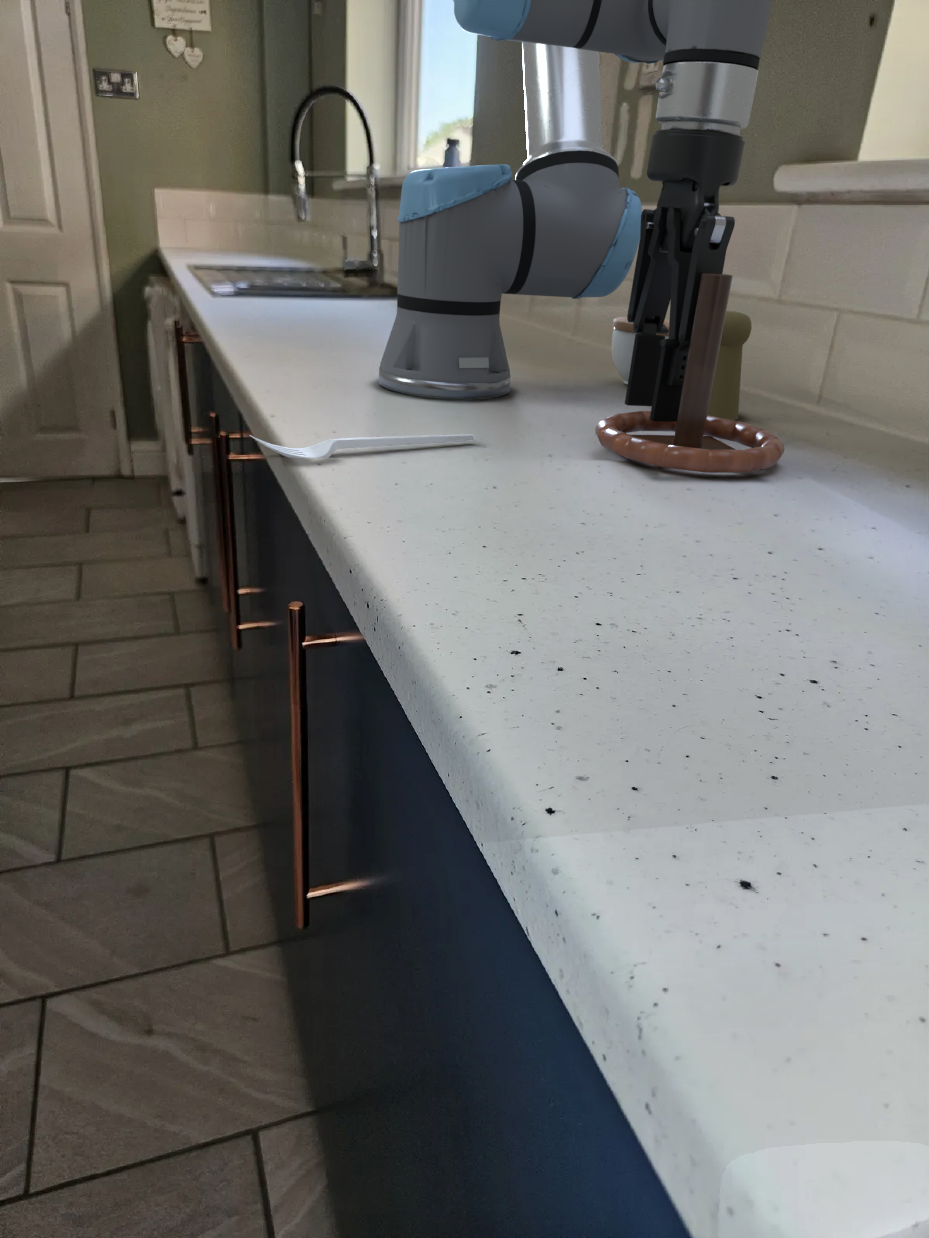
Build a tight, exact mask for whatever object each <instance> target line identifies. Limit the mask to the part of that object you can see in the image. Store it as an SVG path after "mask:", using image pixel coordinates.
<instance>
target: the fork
mask: <svg viewBox="0 0 929 1238" xmlns="http://www.w3.org/2000/svg"><path fill="white" fill-rule="evenodd" d="M249 437H251V438H252V439H254V440H255V441H256V442H258V443H259V444H261V445H263V446H264V447H266V448H267V449H269V450H270V451H273V452H275V453H277V454H279V455H281V456H283V457H286V458H291V459H292V458H293V459H294V458H297V459H298V458H299V459H301V458H302V459H304V458H305V459H310V458H311V459H328V458H330V457H331V456H332V455H333V454H334V452H335V451H337V450H344V449H345V450H346V449H361V448H362V449H363V448H377V447H391V446H407V445H409V446H410V445H423V444H425V445H426V444H438V443H439V444H440V443H441V444H442V443H455V442H471V441H475V438H474V435H473V434H471V433H449V434H447V433H446V434H422V435H421V434H420V435H395V436H394V435H392V436H366V437H365V436H364V437H342V438H341V437H340V438H338V437H337V438H330V439H326V440H324V441H321V442H318V443H315V444H312V445H310V446H305V447H287V446H282V445H277V444H272V443H270V442H268V441H264V440H261V439H259V438H257V437H255V436H253V435H251V434H249Z"/></svg>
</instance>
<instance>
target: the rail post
mask: <svg viewBox="0 0 929 1238" xmlns="http://www.w3.org/2000/svg"><path fill="white" fill-rule="evenodd" d="M732 282H733V274H727V273H722V274H718V273H702V276H701V282H700V287H699V293H698V299H697V305H696V311H695V317H694V323H693V329H692V335H691V341H690V347H689V353H688V359H687V365H686V371H685V377H684V383H683V388H682V394H681V400H680V406H679V412H678V418H677V424H676V430H675V432H674V434H673V435H672V434H630V435H631V436H634V437H636V438H640V439H645V440H649V441H654V442H658V443H663V444H667V445H674V446H683V447H691V448H700V449H710V450H737V449H736V448H734V447H732V446H730V445H729V444H726V443H725V442H723V441H721V440H719V439H718V438H715V437H711V436H706V435H704V430H705V425H706V419H707V414H708V408H709V403H710V397H711V392H712V386H713V381H714V375H715V370H716V365H717V359H718V354H719V348H720V343H721V337H722V332H723V326H724V321H725V315H726V310H728V303H729V299H730V293H731V287H732ZM630 461H631V462H635V461H634V460H630ZM653 466H654V467H655V468H656V469H661V470H662V469H663V470H666V469H667V470H672V469H671V468H663V467H659V466H655V465H653Z"/></svg>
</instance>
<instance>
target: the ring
mask: <svg viewBox="0 0 929 1238" xmlns="http://www.w3.org/2000/svg"><path fill="white" fill-rule="evenodd" d="M650 414H651V410H650V411H649V410H639V411H638V410H636V411H629V412H621V413H614V414H612V415H610V416H608V417H606V418H604V419H602V420H601V421H599V422H598V423H597V424H596V426H595V428H594V429H595V432H594V433H595V436H596V438H597V439H598V442H599V443H600V445H601V446H602V447H603V448H604V449H606V451H607V450H608V451H610V452H612V453H614V454H616V455H618V456H621V457H623V458H625V459H627V460H630V461H631V460H634V461H633V462H638V463H643V464H647V465H652V466H654V465H655V466H659V467H663V468H671V469H670V470H681V471H687V472H697V473H703V474H704V473H706V474H708V473H709V474H717V473H718V474H743V473H744V474H745V473H749V472H755V471H761V470H766V469H769V468H773V467H774V466H775V465H777V463H778V462H779V461H780V459H781V458H782V457H783V455H784V453H785V445H784V443H783V441H782V440H781V439H779V438H778V437H777V436H775V435H774V434H773V433H771V432H770V431H769V430H767V429H763V428H761V427H758V426H754V425H752V424H749V423H746V422H743V421H738V420H729V419H723V418H718V417H713V416H708V415H707V419H706V425H705V430H704V436H711V437H713V438H715V439H720V440H724V441H725V440H726V441H730V442H735V443H738V444H739V445H742V446H745V447H748V448H745V449H736V450H710V449H700V448H691V447H683V446H674V445H667V444H663V443H658V442H654V441H649V440H645V439H640V438H636V437H634V436H631V435H632V434H629V433H637V432H672V433H673V432H674V433H675V430H676V424H677V422H663V421H652V420H650ZM655 466H654V467H655Z"/></svg>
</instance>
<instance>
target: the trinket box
mask: <svg viewBox="0 0 929 1238" xmlns="http://www.w3.org/2000/svg"><path fill="white" fill-rule="evenodd" d="M669 320H670V318H665V320H664V324H663V325H665V326H666V327H667V328H668V330H669ZM633 324H634V323H631V322H628V320H627V316H618V317H614V319H612V328H613V329H612V334H611V335H612V336H611V357H612V362H613V366H614V368H615V370H616V372H617V373H618V375H619V376H620V377H621V379H623V382H622V383H623V384H625V385H627V386H628V379H629V373H630V367H631V360H632V354H633V347H634V341H635V334H637V333H635V332H634V330H633ZM656 335H662V336H665V339H668V338H669V331H668V333H667V334H656Z"/></svg>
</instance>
